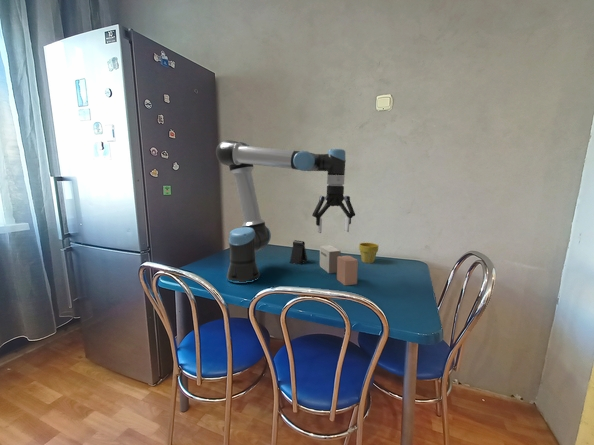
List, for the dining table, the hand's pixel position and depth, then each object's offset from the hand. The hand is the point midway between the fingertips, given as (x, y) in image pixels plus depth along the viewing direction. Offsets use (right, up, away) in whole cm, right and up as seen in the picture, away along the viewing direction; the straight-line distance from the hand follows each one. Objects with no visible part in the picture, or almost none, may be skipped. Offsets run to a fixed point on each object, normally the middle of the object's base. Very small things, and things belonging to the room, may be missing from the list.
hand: (333, 232), depth 129 cm
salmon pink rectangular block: (+6, -23, 0) cm, 23 cm away
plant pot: (+23, -18, +30) cm, 42 cm away
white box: (0, -20, +17) cm, 26 cm away
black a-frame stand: (-16, -18, +30) cm, 38 cm away
